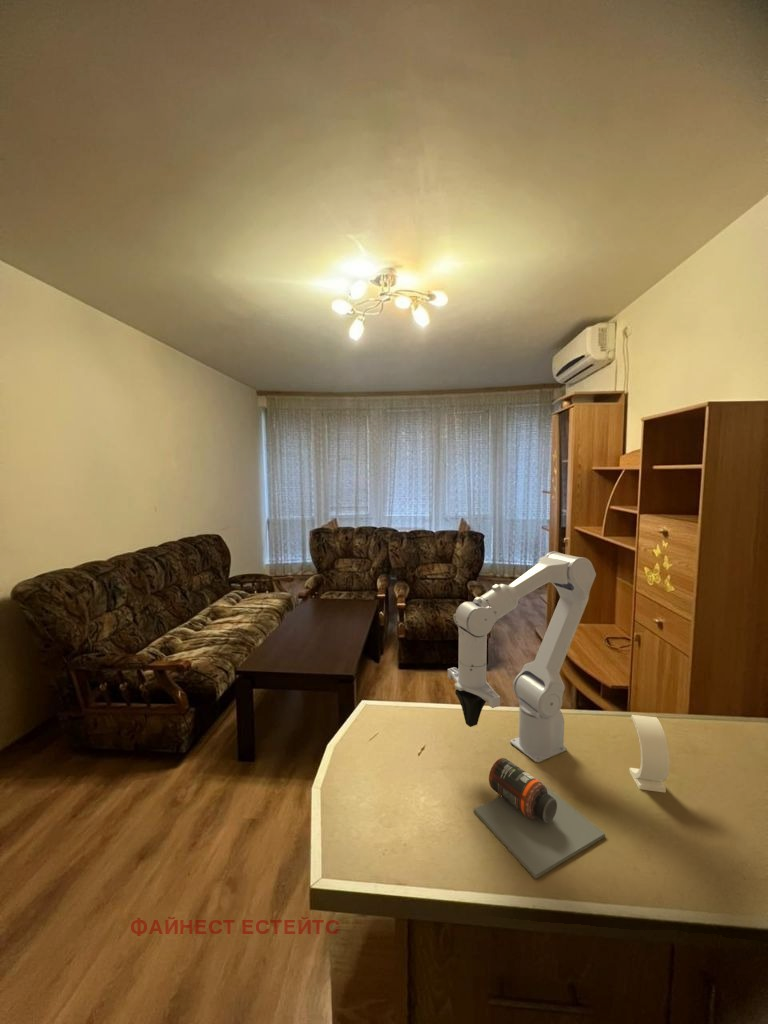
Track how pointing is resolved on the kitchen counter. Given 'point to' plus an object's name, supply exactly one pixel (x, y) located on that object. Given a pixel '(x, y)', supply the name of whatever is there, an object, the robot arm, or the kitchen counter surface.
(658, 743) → the headphone stand
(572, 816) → the mat
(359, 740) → the kitchen counter surface
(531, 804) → the supplement bottle
